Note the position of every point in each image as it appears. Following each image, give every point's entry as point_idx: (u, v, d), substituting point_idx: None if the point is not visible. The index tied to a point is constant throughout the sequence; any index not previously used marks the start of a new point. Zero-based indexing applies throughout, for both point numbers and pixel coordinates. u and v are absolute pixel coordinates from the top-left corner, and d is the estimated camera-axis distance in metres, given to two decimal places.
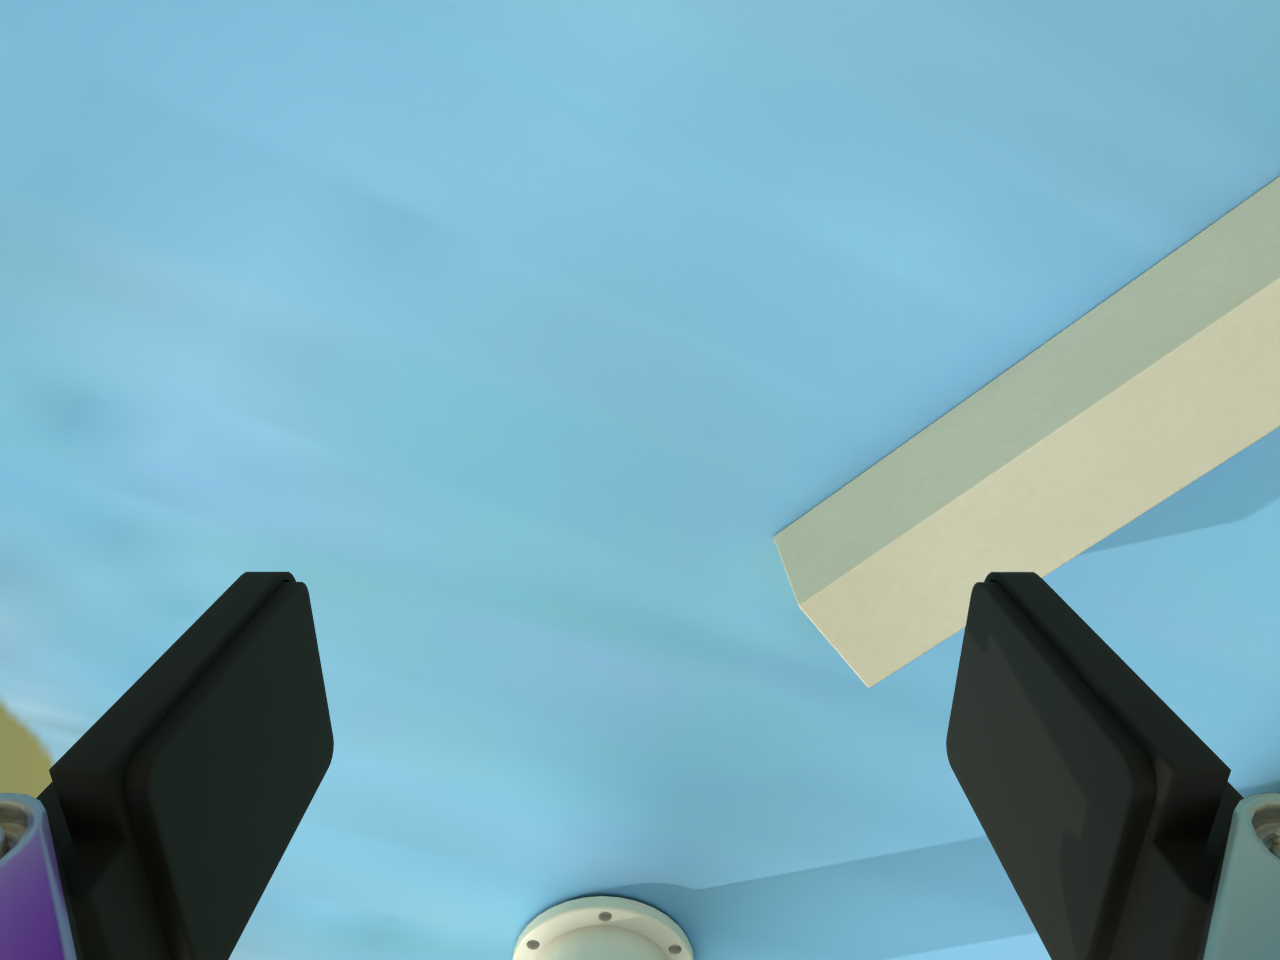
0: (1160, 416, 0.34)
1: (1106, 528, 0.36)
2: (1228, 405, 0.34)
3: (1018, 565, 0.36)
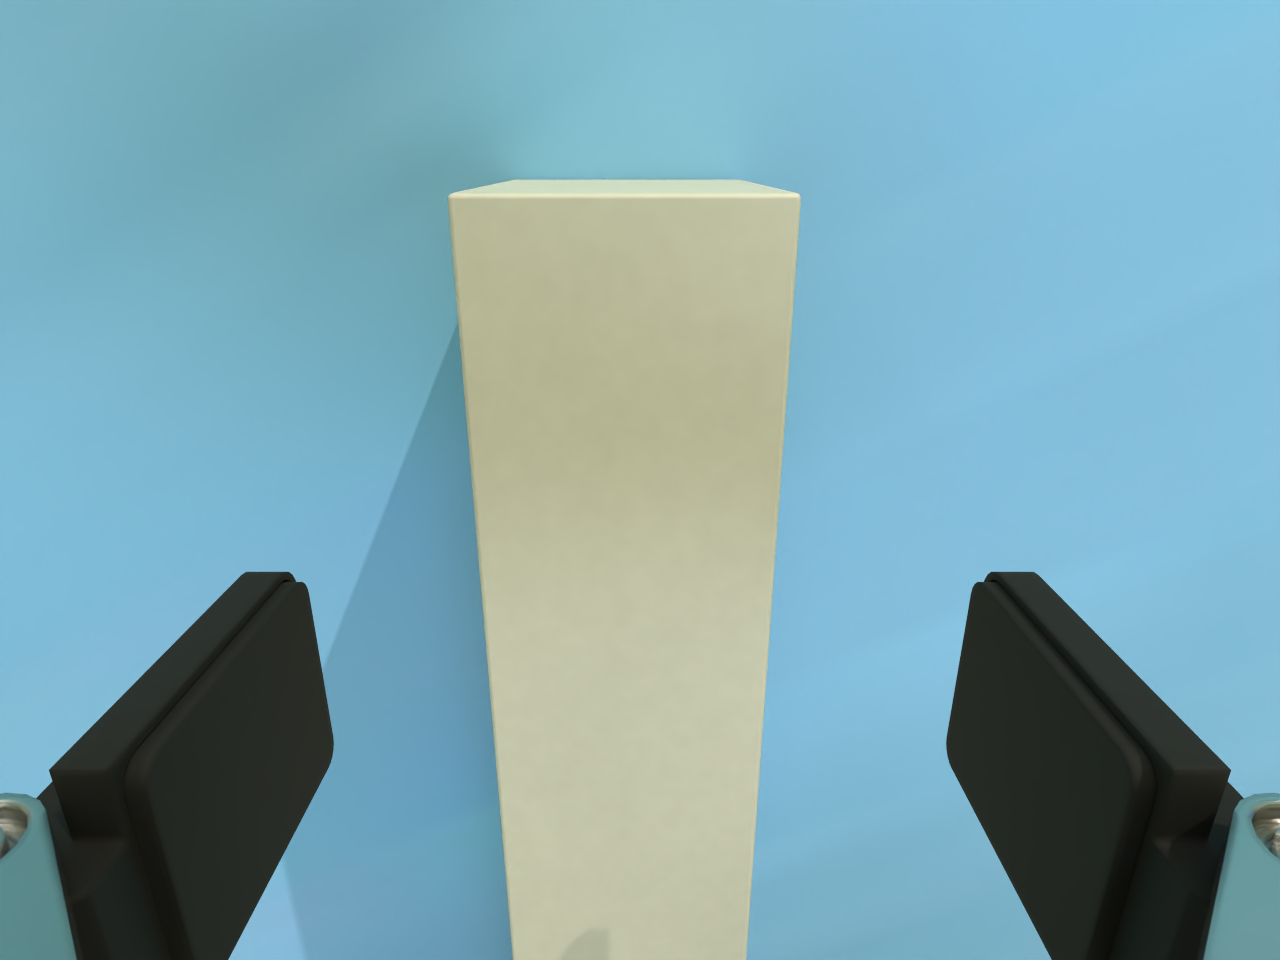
0: (658, 930, 0.20)
1: (516, 798, 0.18)
2: None
3: (547, 650, 0.17)
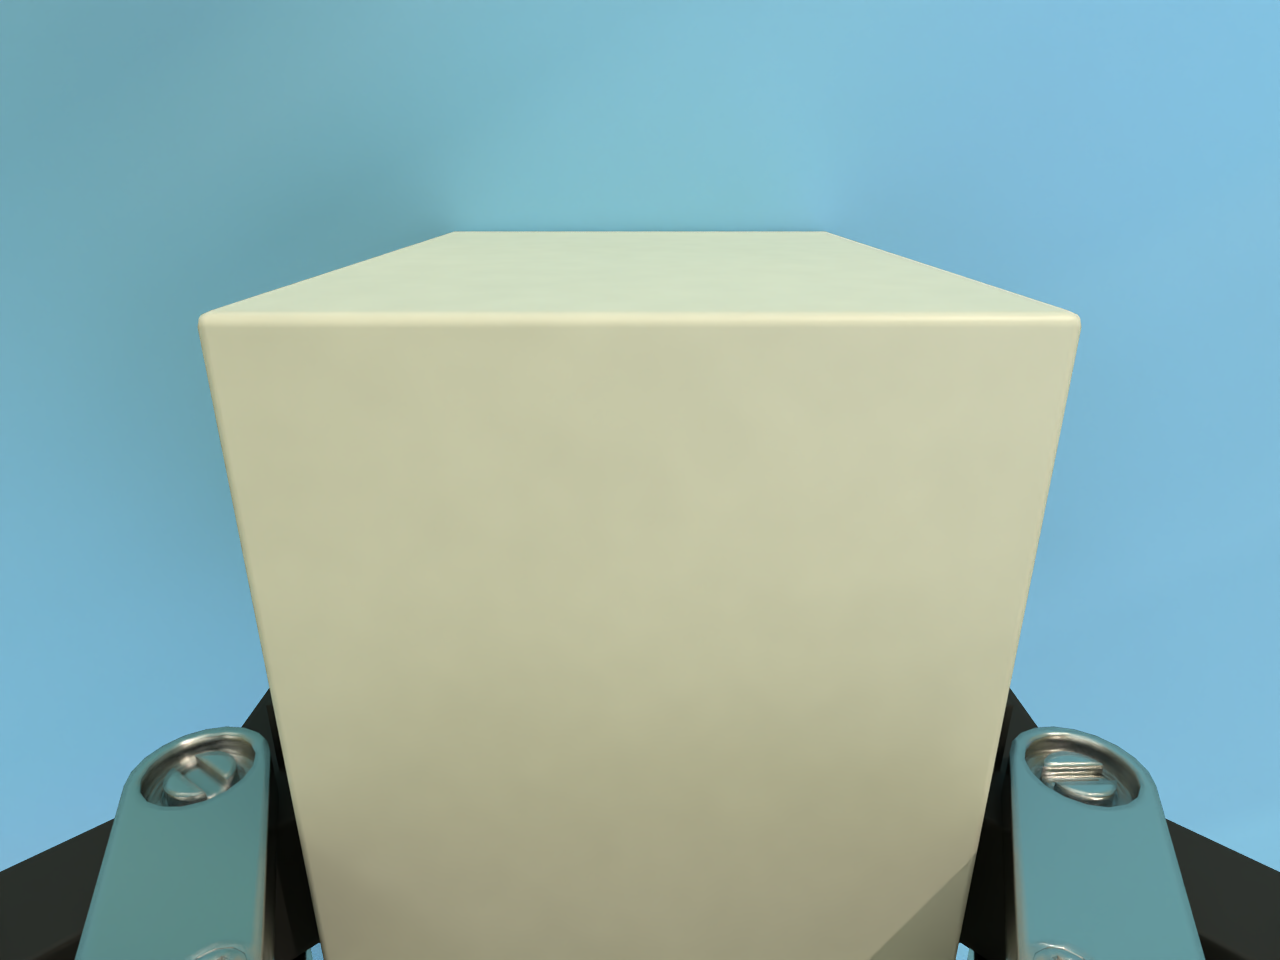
0: None
1: None
2: None
3: None
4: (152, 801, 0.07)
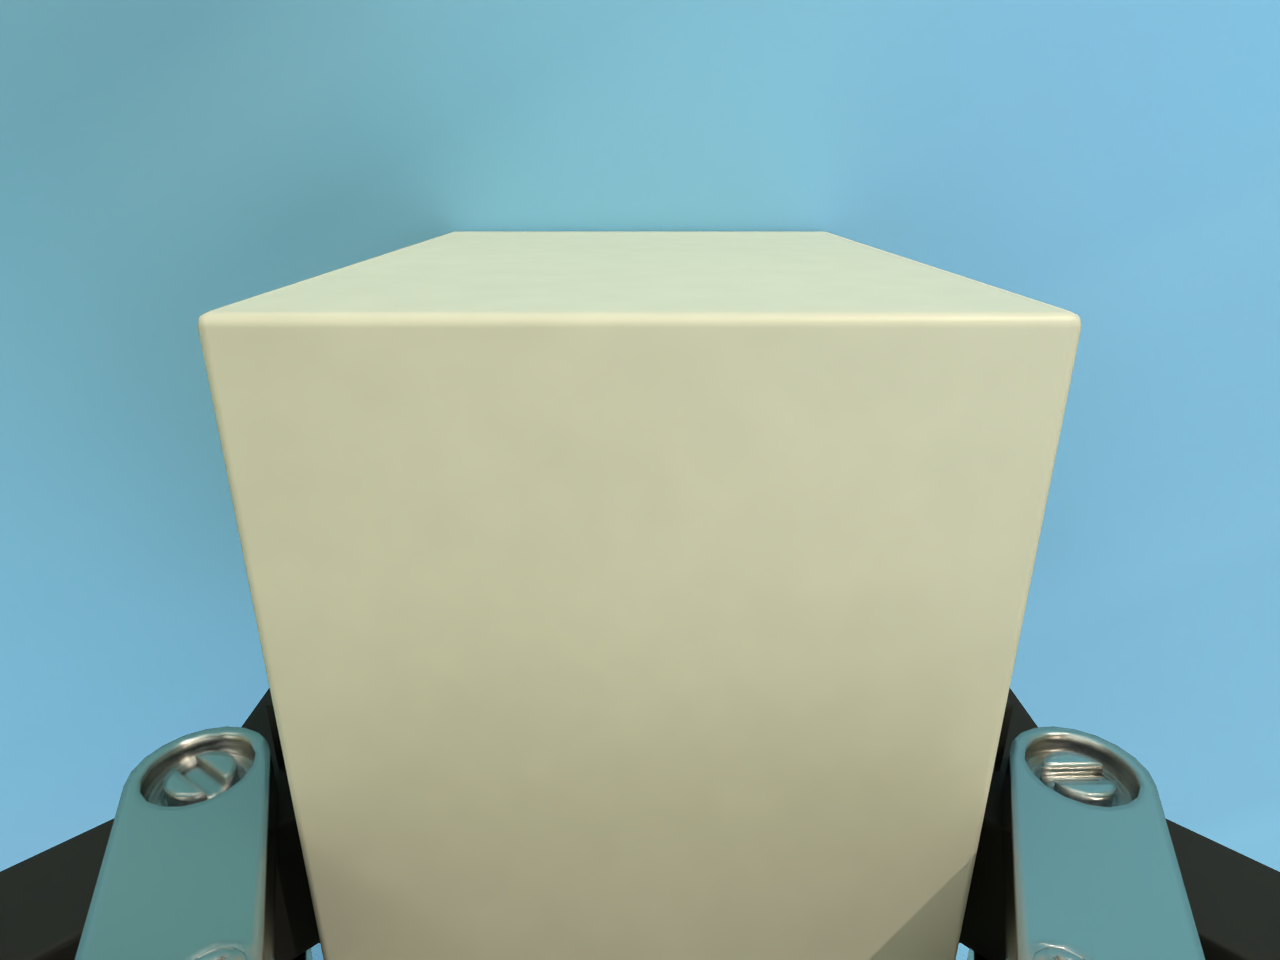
0: None
1: None
2: None
3: None
4: (152, 801, 0.07)
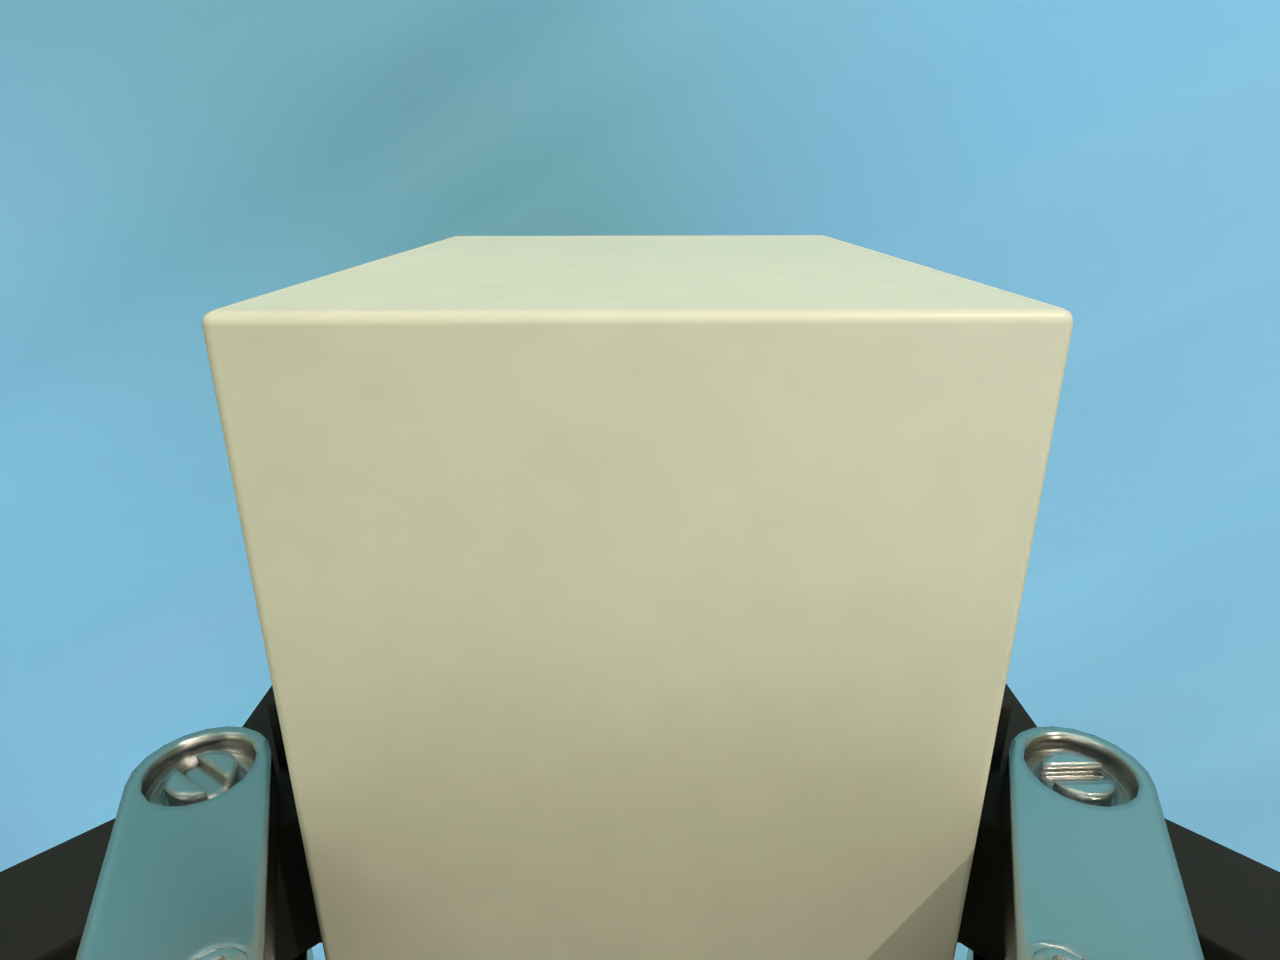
0: None
1: None
2: None
3: None
4: (153, 801, 0.07)
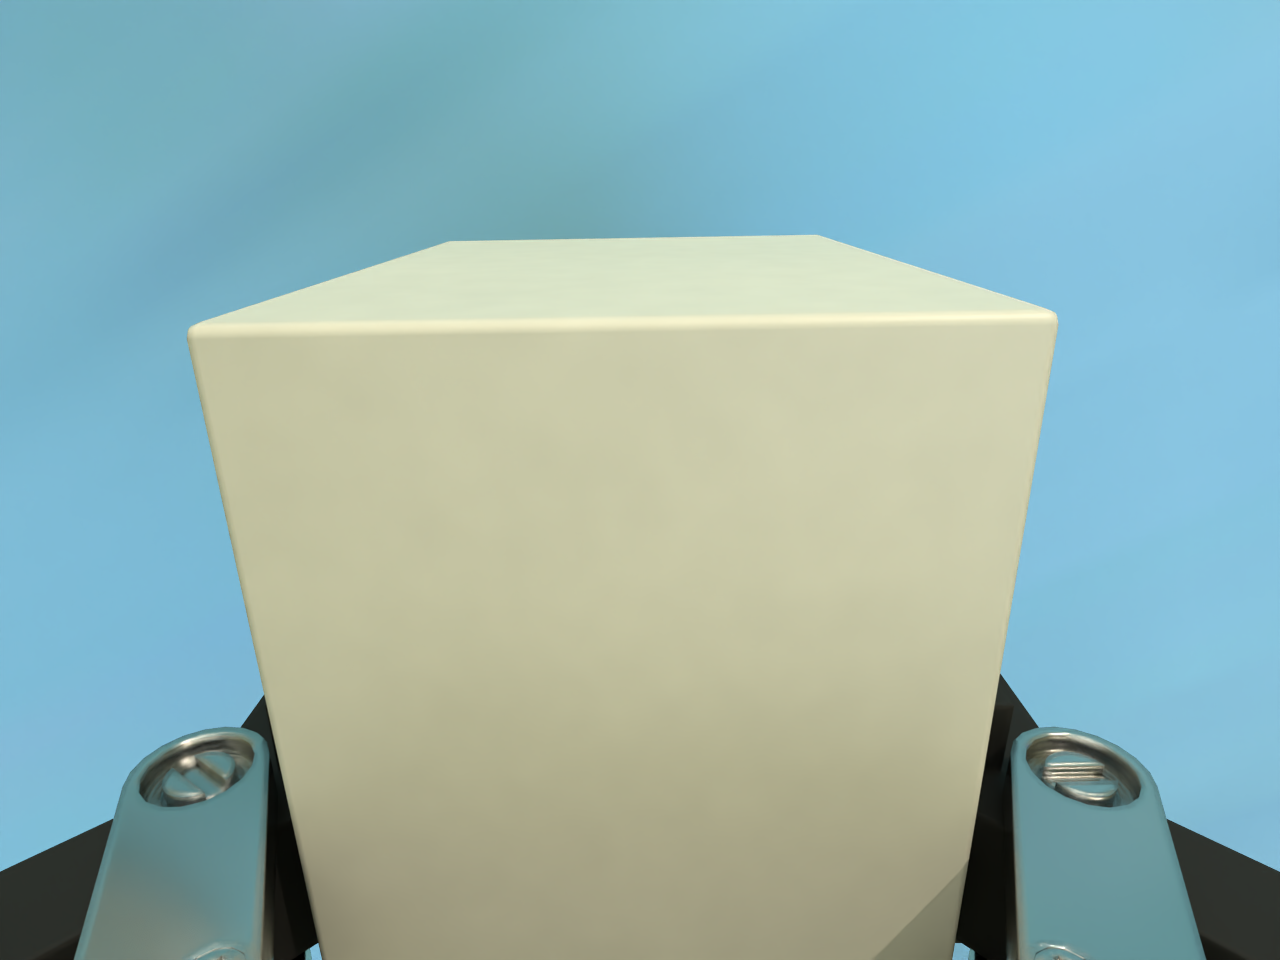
0: None
1: None
2: None
3: None
4: (151, 802, 0.07)
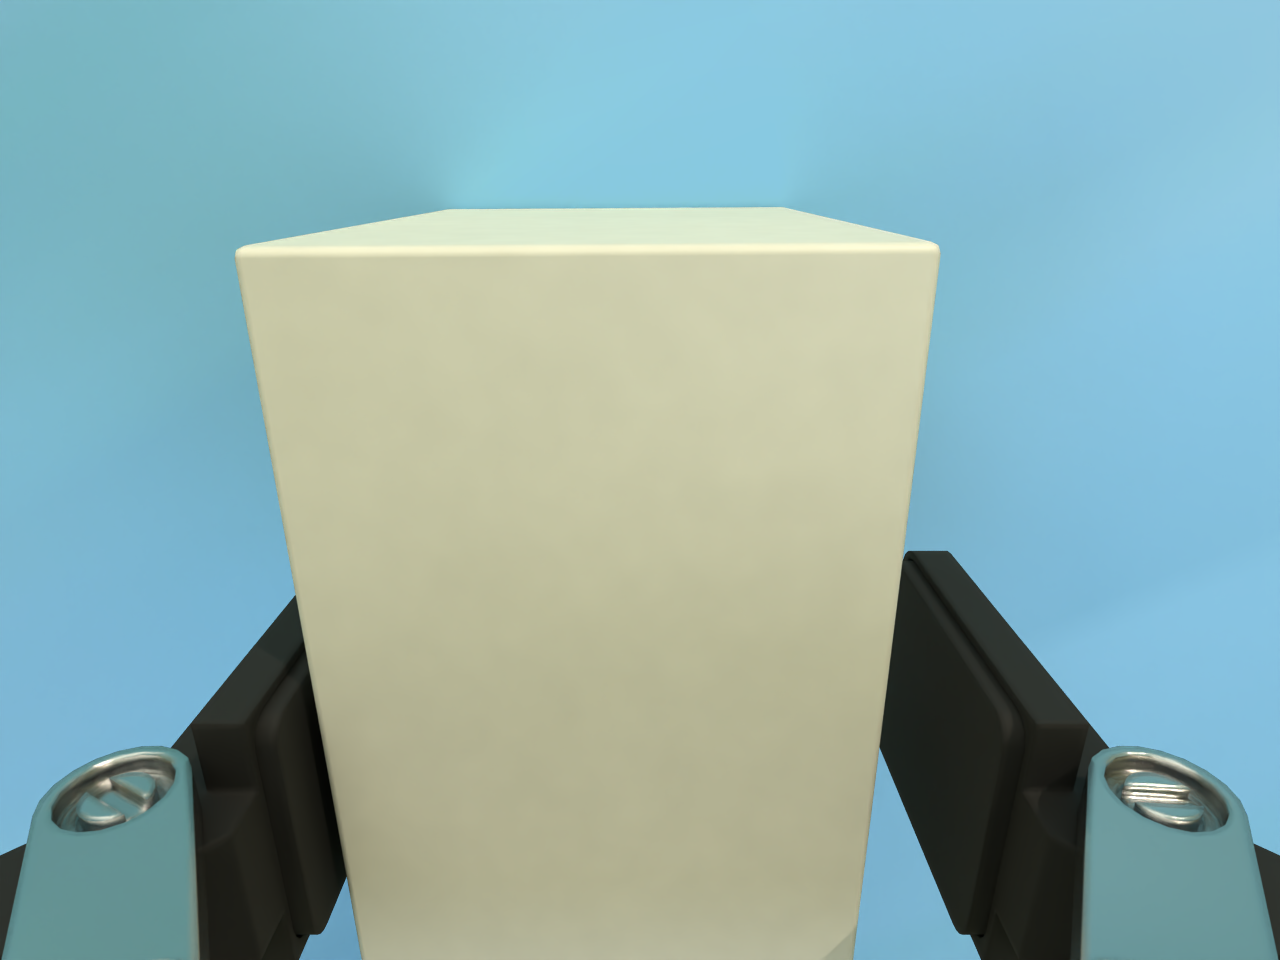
0: None
1: None
2: None
3: None
4: (65, 825, 0.07)
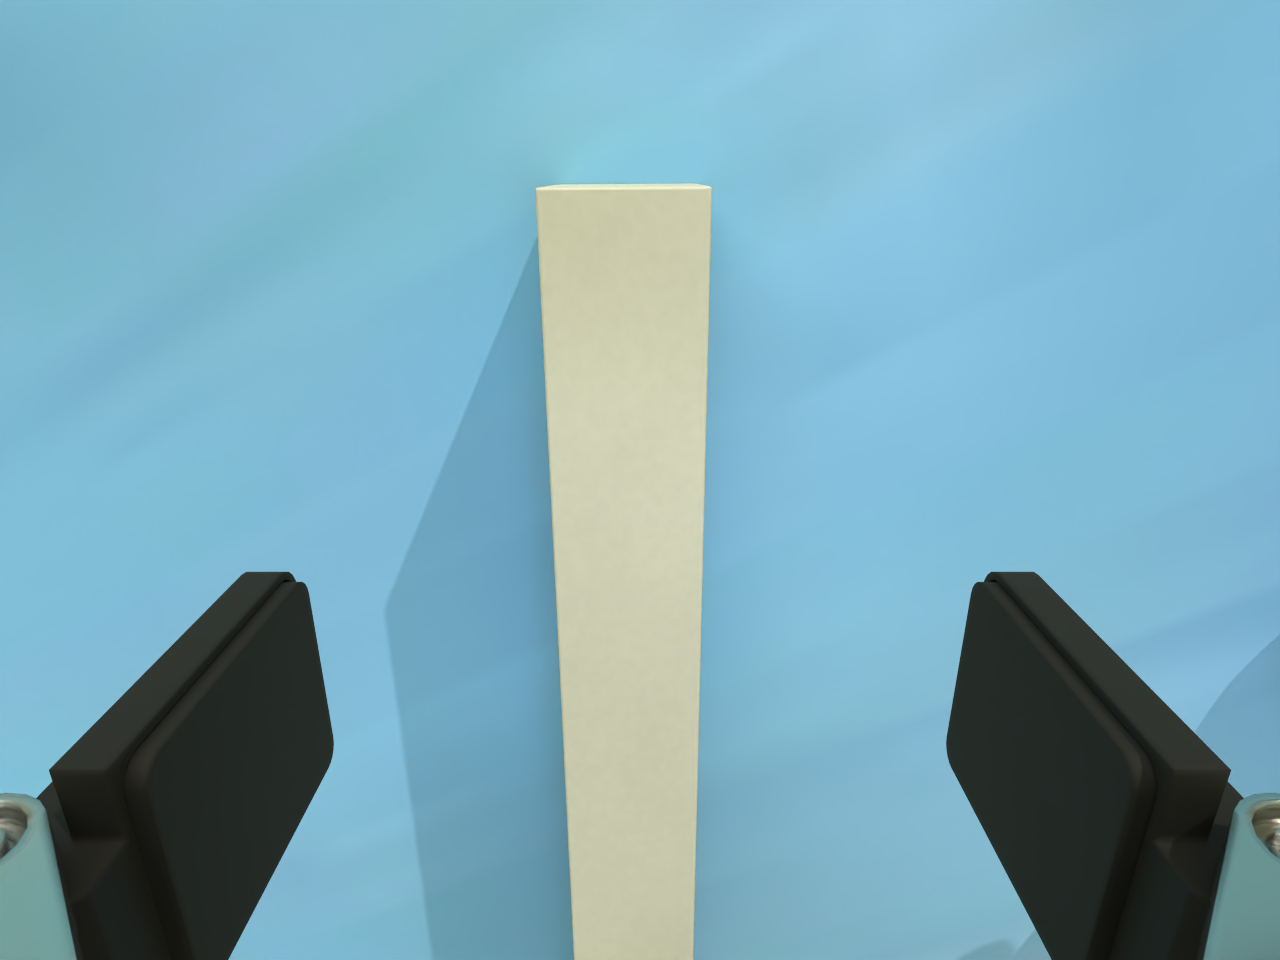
0: (647, 631, 0.33)
1: (563, 539, 0.31)
2: (614, 681, 0.34)
3: (582, 442, 0.30)
4: None
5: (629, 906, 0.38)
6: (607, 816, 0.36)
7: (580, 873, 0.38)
